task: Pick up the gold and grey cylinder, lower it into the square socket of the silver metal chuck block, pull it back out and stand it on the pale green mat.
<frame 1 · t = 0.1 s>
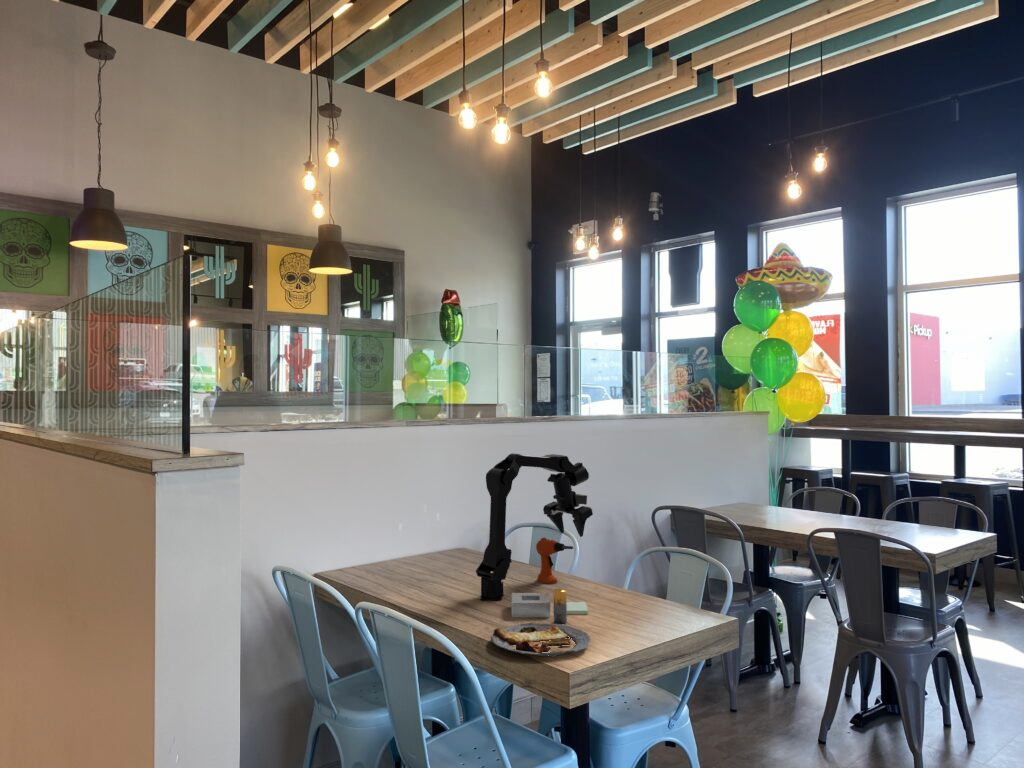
hand: (572, 534, 262), 15 cm above the table, tool pointing down, fingers open, 9 cm apart
toy drill: (555, 584, 257), on the table
food plate: (540, 646, 196), on the table
chuck block: (530, 611, 225), on the table
green mat: (571, 609, 227), on the table
gold and grey cylinder: (560, 623, 214), on the table
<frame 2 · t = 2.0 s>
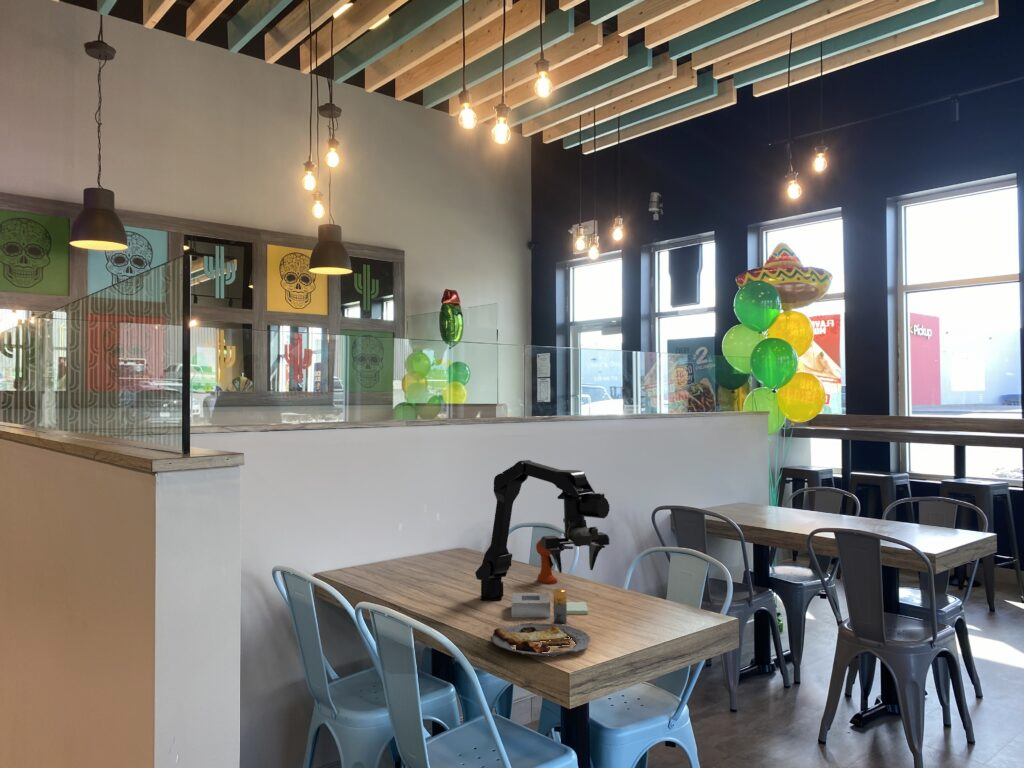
hand: (575, 571, 218), 13 cm above the table, tool pointing down, fingers open, 9 cm apart
nothing on the table moved.
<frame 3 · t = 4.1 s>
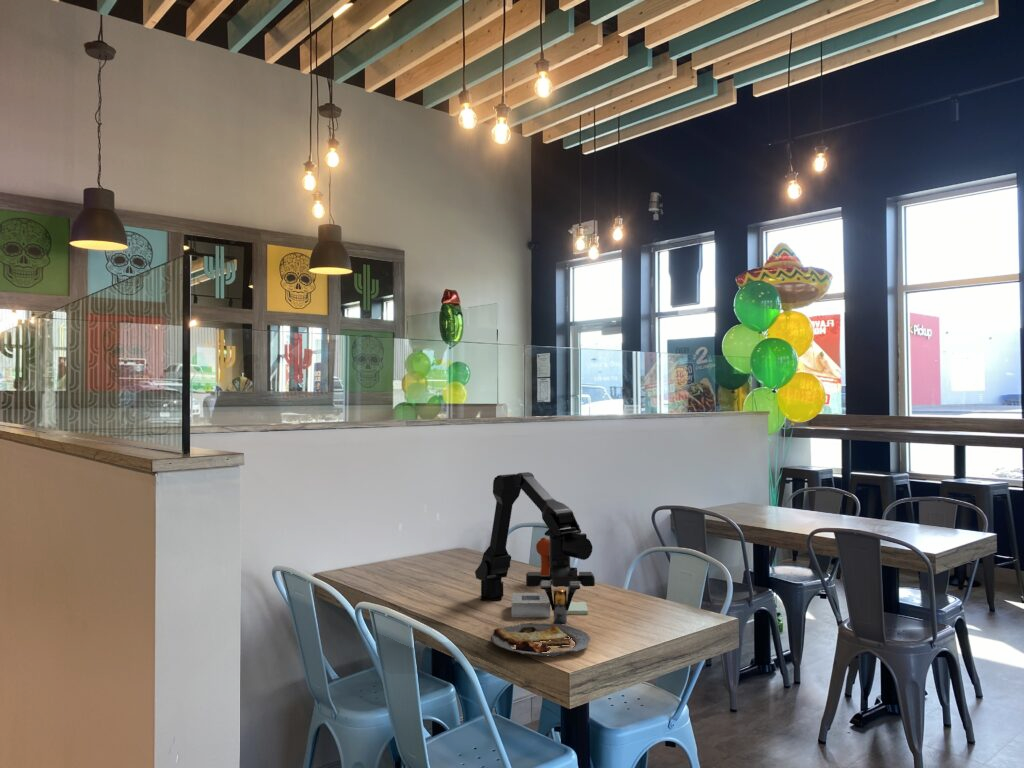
hand: (560, 610, 214), 4 cm above the table, tool pointing down, fingers closed on gold and grey cylinder, 4 cm apart
gold and grey cylinder: (560, 623, 214), on the table, touching gripper
everything else where it was.
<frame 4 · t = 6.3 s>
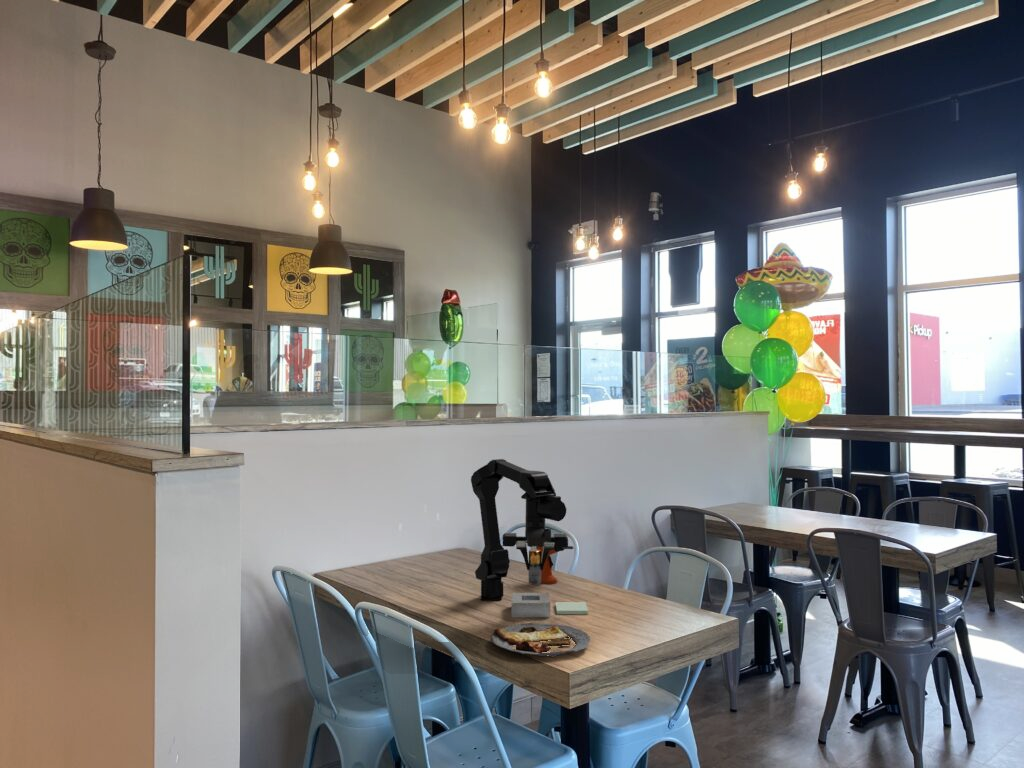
hand: (534, 569, 223), 13 cm above the table, tool pointing down, fingers closed on gold and grey cylinder, 4 cm apart
gold and grey cylinder: (534, 582, 223), point 9 cm above the table, touching gripper
everything else where it was.
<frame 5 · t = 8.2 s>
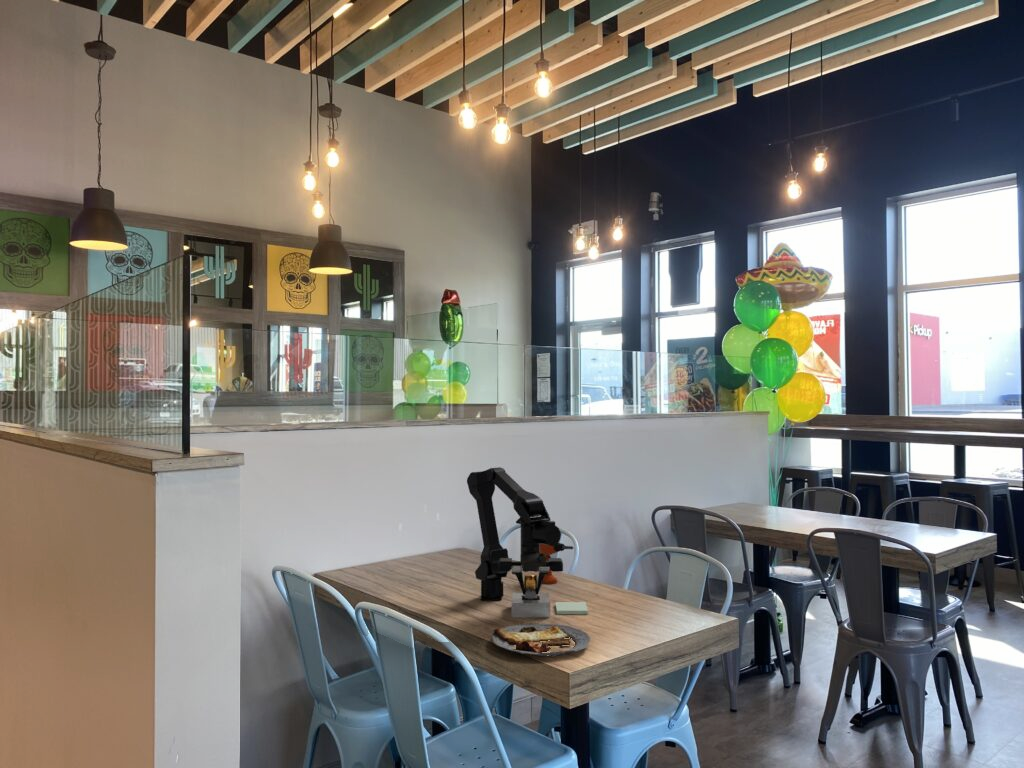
hand: (530, 594, 225), 5 cm above the table, tool pointing down, fingers closed on gold and grey cylinder, 4 cm apart
gold and grey cylinder: (530, 606, 225), point 2 cm above the table, touching gripper
everything else where it was.
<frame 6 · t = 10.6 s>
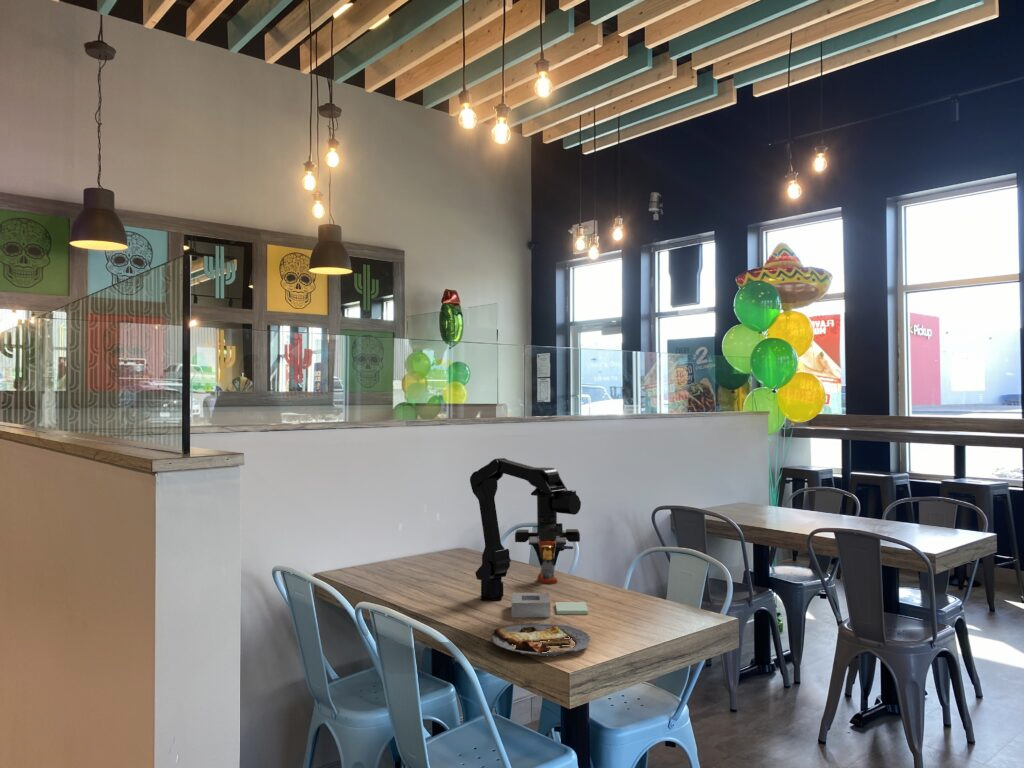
hand: (547, 565, 225), 13 cm above the table, tool pointing down, fingers closed on gold and grey cylinder, 4 cm apart
gold and grey cylinder: (547, 577, 225), point 10 cm above the table, touching gripper
everything else where it was.
when the fingers open (5 cm above the table, at t = 12.7 s): gold and grey cylinder stays where it is, resting on green mat.
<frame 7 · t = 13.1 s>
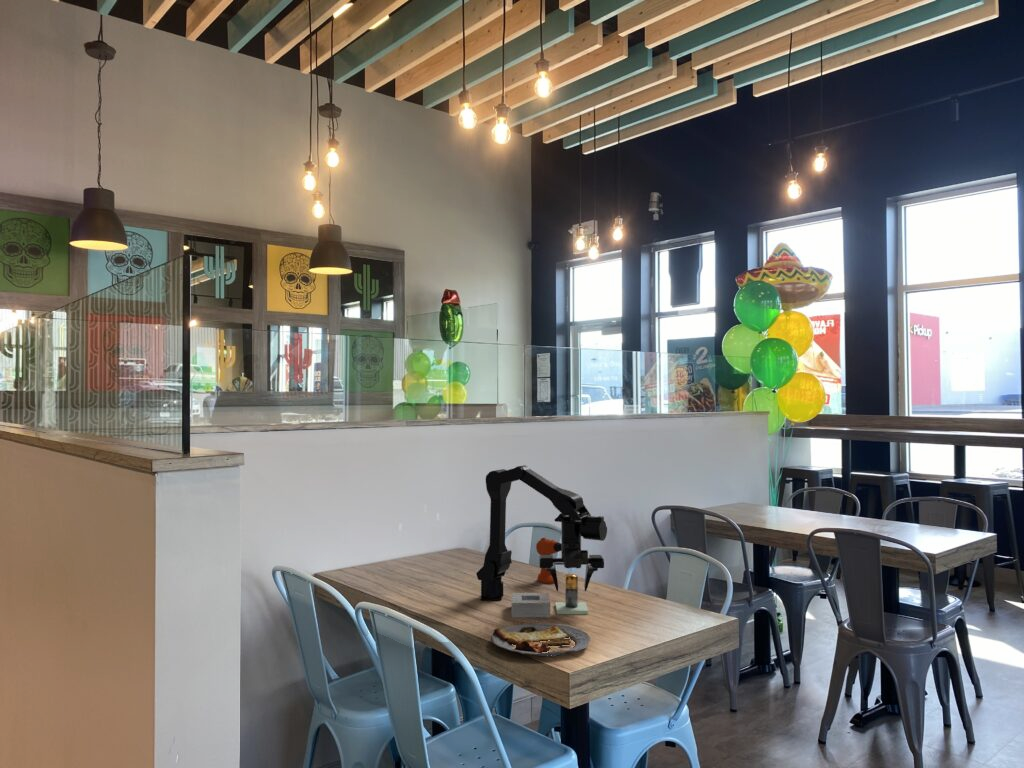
hand: (571, 590, 227), 5 cm above the table, tool pointing down, fingers open, 8 cm apart
gold and grey cylinder: (571, 606, 226), point 1 cm above the table, touching green mat
everything else where it was.
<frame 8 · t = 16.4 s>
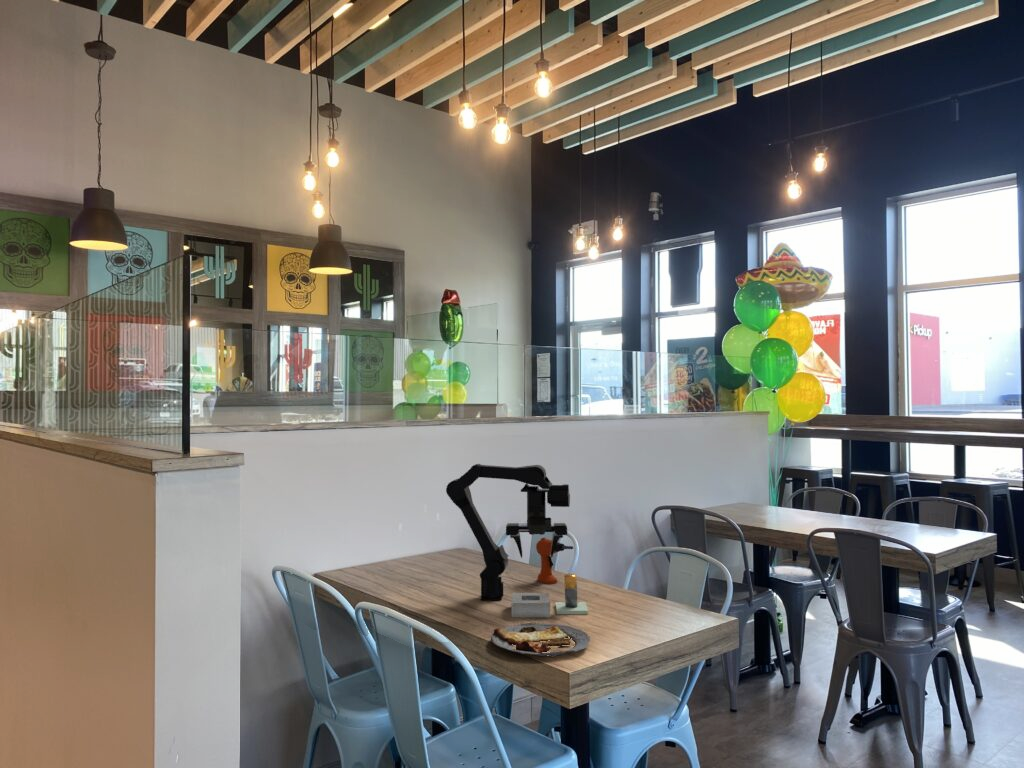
hand: (536, 557, 238), 13 cm above the table, tool pointing down, fingers open, 9 cm apart
nothing on the table moved.
at the end: gold and grey cylinder 0.1 cm off-centre on the green mat, point 1.1 cm above the green mat's base; gold and grey cylinder tilted 2°; the gripper is holding nothing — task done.
